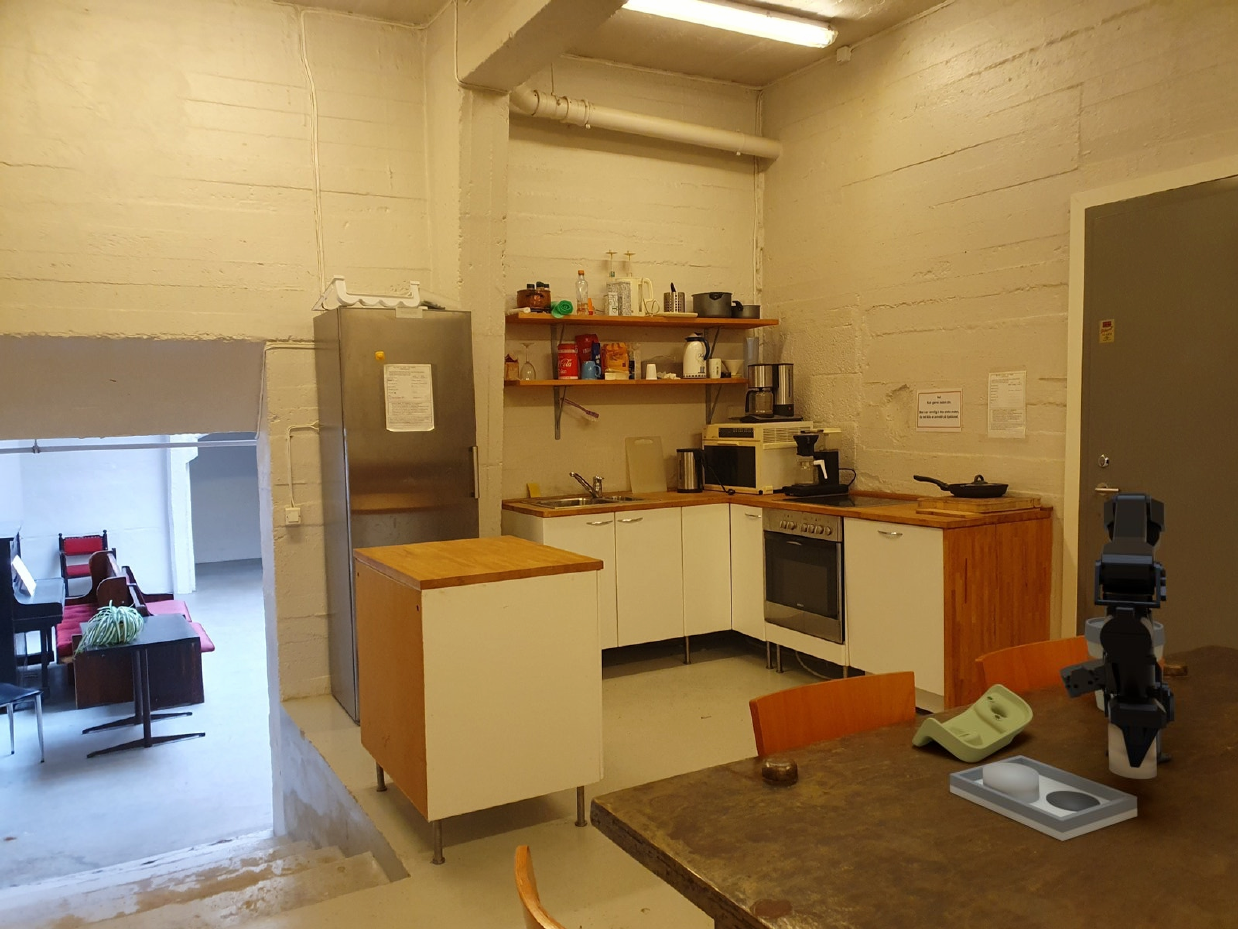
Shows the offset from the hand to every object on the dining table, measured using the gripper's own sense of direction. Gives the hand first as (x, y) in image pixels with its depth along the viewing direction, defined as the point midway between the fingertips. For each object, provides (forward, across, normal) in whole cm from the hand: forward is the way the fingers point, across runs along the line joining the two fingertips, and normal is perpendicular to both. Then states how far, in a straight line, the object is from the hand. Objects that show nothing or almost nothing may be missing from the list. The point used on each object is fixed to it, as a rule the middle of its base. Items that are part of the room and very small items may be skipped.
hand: (1132, 759), depth 123 cm
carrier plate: (+5, +6, -12) cm, 14 cm away
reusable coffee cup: (+5, -42, +3) cm, 43 cm away
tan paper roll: (+2, 0, 0) cm, 2 cm away
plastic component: (+6, -16, -20) cm, 27 cm away
